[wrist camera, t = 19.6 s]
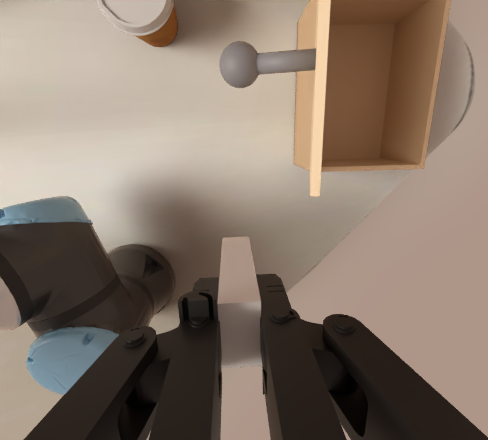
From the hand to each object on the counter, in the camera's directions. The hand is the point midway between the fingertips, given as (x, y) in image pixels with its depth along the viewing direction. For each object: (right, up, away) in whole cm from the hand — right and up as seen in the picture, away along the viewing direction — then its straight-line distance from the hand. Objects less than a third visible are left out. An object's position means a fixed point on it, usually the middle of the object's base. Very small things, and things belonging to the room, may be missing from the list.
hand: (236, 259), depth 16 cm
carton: (+17, +23, +31) cm, 43 cm away
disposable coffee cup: (-13, +33, +28) cm, 45 cm away
